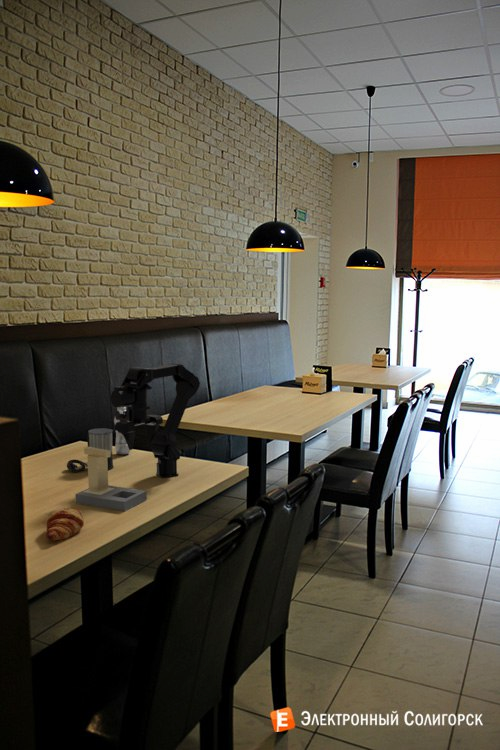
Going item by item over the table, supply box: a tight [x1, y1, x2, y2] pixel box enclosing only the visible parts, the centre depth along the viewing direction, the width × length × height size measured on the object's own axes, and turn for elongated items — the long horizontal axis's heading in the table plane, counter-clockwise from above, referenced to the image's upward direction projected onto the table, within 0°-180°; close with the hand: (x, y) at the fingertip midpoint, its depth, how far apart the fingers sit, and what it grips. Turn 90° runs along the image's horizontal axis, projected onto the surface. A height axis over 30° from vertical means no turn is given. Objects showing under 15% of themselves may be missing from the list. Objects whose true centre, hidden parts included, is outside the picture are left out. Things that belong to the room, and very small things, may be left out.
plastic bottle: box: [113, 406, 131, 456], centre depth 268 cm, size 6×7×20 cm
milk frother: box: [66, 427, 114, 473], centre depth 246 cm, size 14×16×15 cm
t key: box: [83, 446, 111, 493], centre depth 210 cm, size 4×10×14 cm, turn 57°
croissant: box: [45, 508, 85, 542], centre depth 183 cm, size 21×10×8 cm, turn 176°
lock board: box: [75, 484, 148, 512], centre depth 208 cm, size 19×12×3 cm, turn 65°
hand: (139, 447), depth 227 cm, fingers open, 9 cm apart
